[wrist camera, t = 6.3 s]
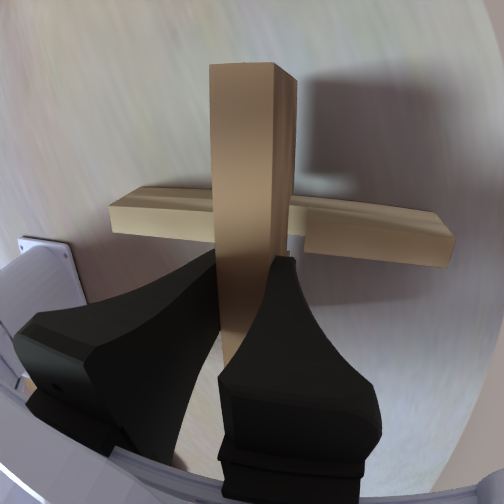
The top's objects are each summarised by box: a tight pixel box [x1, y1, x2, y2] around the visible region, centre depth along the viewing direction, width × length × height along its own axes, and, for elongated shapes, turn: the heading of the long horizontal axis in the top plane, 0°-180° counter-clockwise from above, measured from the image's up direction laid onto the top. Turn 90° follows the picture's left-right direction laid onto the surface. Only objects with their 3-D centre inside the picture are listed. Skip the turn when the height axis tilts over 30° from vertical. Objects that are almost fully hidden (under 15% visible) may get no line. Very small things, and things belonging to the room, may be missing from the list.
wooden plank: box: [209, 62, 297, 368], centre depth 13 cm, size 14×2×7 cm, turn 0°
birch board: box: [108, 187, 456, 268], centre depth 16 cm, size 2×18×4 cm, turn 89°
